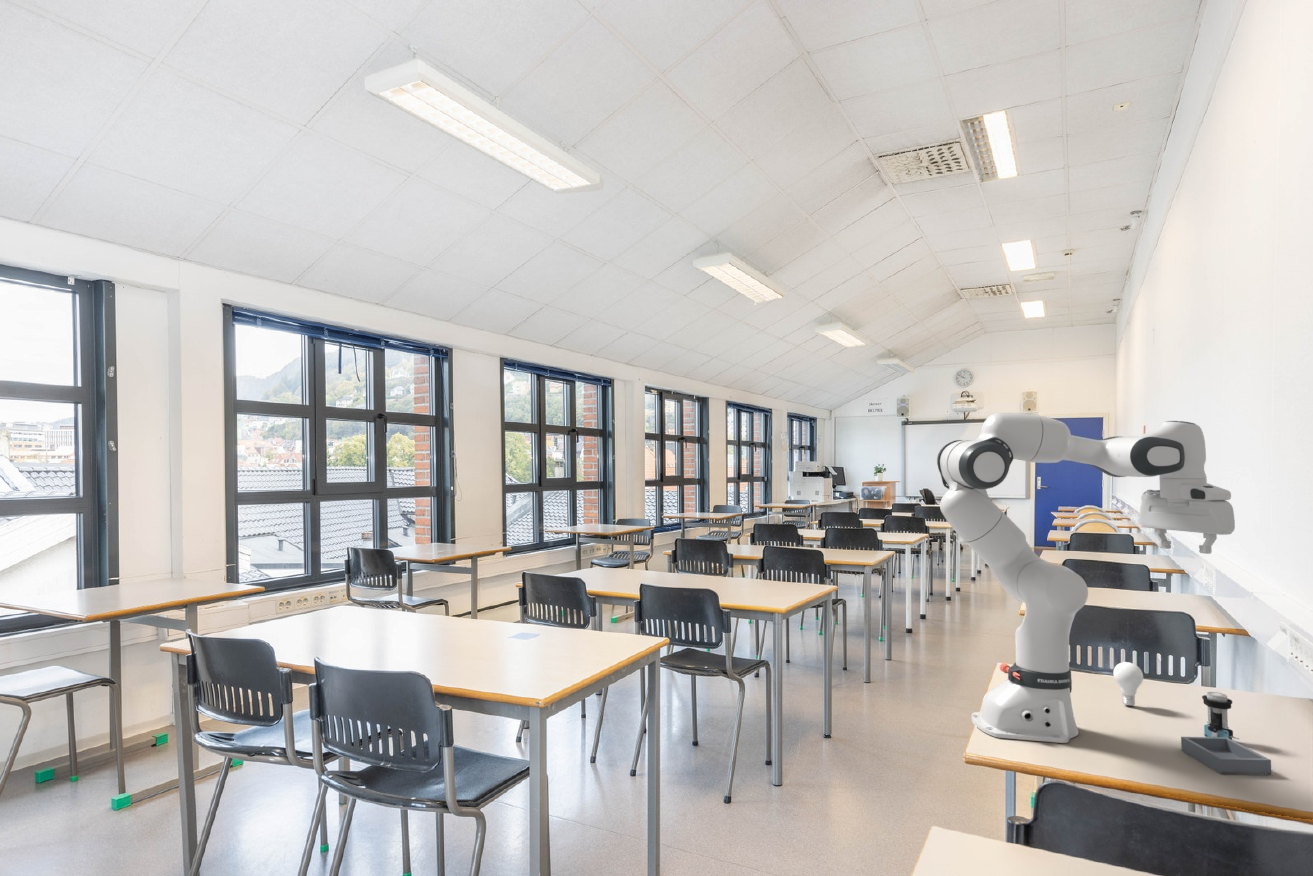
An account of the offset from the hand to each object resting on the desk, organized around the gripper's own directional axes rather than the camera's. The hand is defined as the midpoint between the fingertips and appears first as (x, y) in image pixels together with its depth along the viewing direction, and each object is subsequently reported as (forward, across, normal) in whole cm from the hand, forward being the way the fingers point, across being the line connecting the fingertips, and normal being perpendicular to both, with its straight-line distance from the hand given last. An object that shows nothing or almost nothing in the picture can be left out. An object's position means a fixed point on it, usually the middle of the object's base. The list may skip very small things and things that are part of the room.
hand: (1184, 550), depth 165 cm
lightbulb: (+42, -18, +3) cm, 46 cm away
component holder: (+42, +14, -9) cm, 45 cm away
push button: (+42, +5, +2) cm, 42 cm away
